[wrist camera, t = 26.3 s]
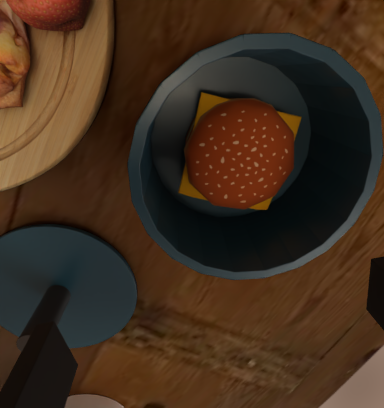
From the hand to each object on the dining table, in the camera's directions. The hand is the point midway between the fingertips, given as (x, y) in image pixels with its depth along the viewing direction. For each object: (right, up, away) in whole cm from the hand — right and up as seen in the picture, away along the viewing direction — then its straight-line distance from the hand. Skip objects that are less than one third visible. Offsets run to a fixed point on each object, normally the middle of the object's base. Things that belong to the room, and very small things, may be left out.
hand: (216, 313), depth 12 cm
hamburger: (+3, +10, +16) cm, 19 cm away
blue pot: (+3, +11, +17) cm, 20 cm away
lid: (-17, -6, +22) cm, 28 cm away
